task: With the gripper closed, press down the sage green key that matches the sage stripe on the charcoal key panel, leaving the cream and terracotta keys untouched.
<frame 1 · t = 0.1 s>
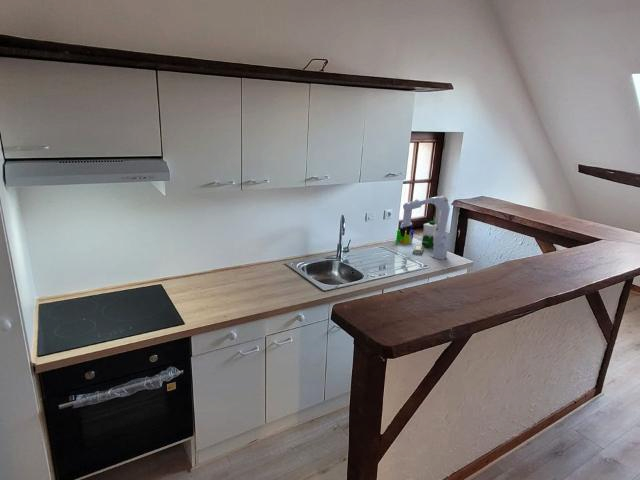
hand: (405, 235, 313), 10 cm above the worktop, tool pointing down, fingers open, 7 cm apart
sage key: (418, 249, 304), point 3 cm above the worktop, slide at 0.0 cm
terracotta key: (419, 245, 314), point 3 cm above the worktop, slide at 0.0 cm
key panel: (418, 251, 310), on the worktop
puzzle toy: (404, 242, 332), on the worktop
milk carton: (427, 246, 323), on the worktop
cream key: (418, 247, 309), point 3 cm above the worktop, slide at 0.0 cm
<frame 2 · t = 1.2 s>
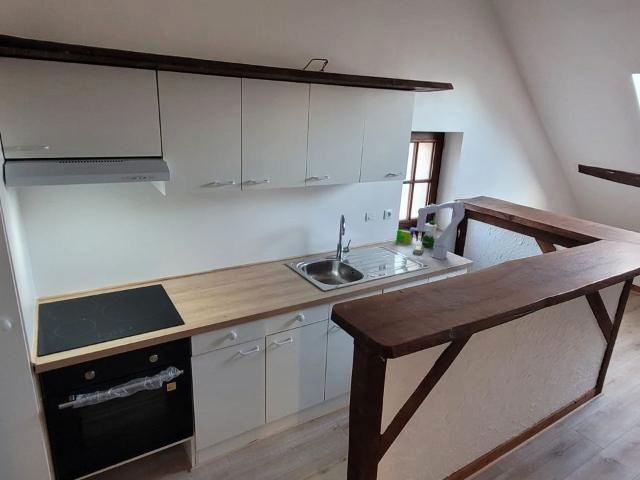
hand: (419, 241, 303), 9 cm above the worktop, tool pointing down, fingers closed
nothing on the worktop moved.
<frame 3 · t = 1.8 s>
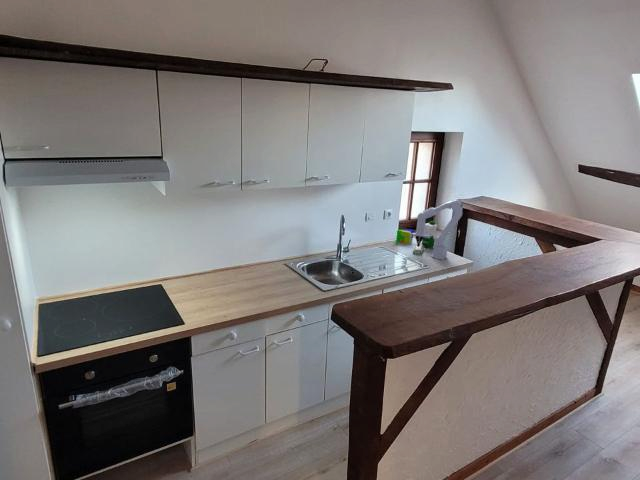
hand: (418, 246, 304), 6 cm above the worktop, tool pointing down, fingers closed
nothing on the worktop moved.
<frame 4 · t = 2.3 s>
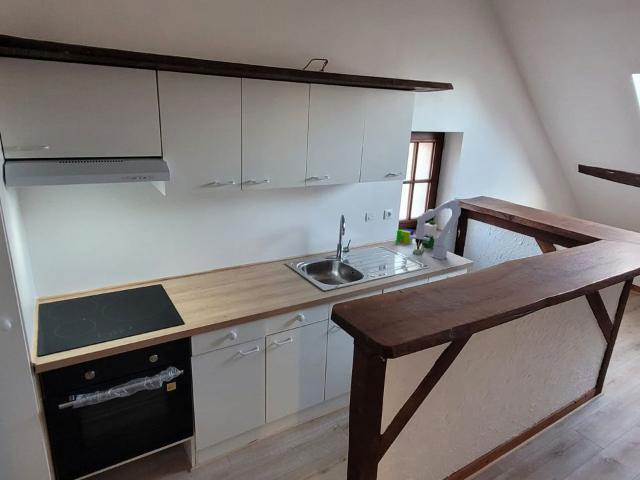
hand: (418, 248, 304), 3 cm above the worktop, tool pointing down, fingers closed, pressing on sage key
sage key: (418, 249, 304), point 3 cm above the worktop, slide at 0.0 cm, touching gripper
everything else where it was.
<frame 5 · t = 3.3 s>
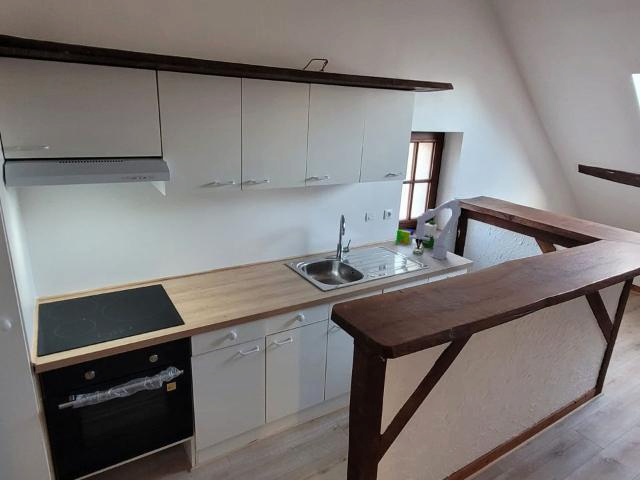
hand: (418, 248, 304), 3 cm above the worktop, tool pointing down, fingers closed
sage key: (417, 251, 305), point 2 cm above the worktop, slide at 1.1 cm
everything else where it was.
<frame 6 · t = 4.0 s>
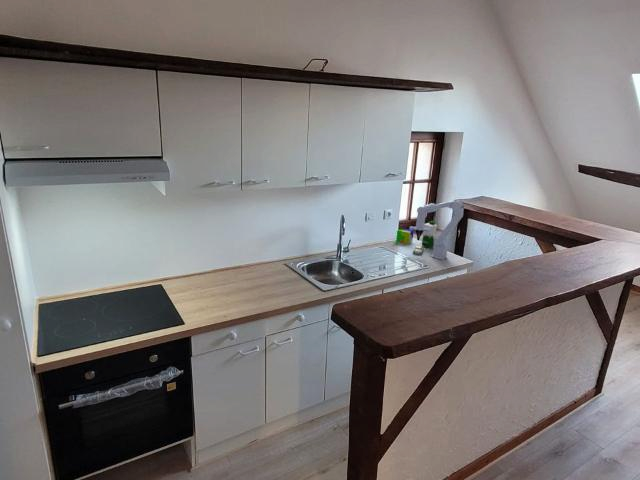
hand: (418, 240, 304), 10 cm above the worktop, tool pointing down, fingers closed
nothing on the worktop moved.
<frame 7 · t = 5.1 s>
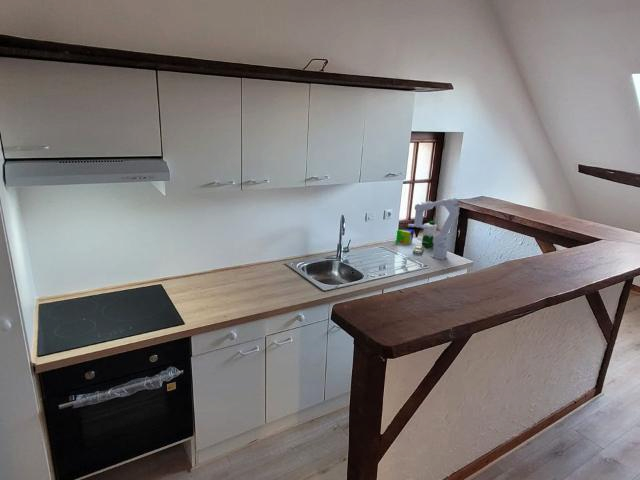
hand: (416, 237, 309), 10 cm above the worktop, tool pointing down, fingers closed
nothing on the worktop moved.
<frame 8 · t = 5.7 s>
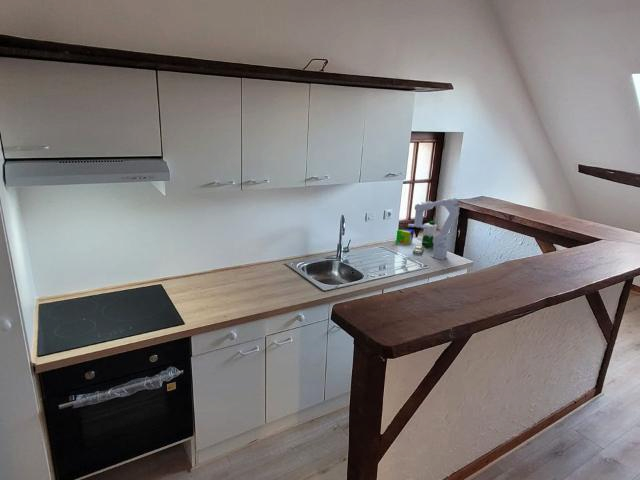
hand: (416, 237, 309), 10 cm above the worktop, tool pointing down, fingers closed
nothing on the worktop moved.
at the end: sage key slide at 1.1 cm; cream key slide at 0.0 cm; terracotta key slide at 0.0 cm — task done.
